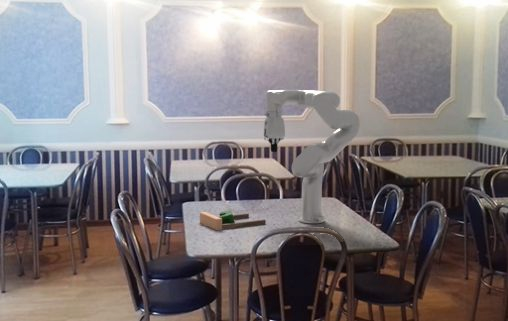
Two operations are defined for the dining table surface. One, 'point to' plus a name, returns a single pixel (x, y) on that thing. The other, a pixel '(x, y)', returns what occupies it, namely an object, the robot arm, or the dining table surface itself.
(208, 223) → the end stop
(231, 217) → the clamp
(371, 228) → the dining table surface
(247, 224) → the guide rails
